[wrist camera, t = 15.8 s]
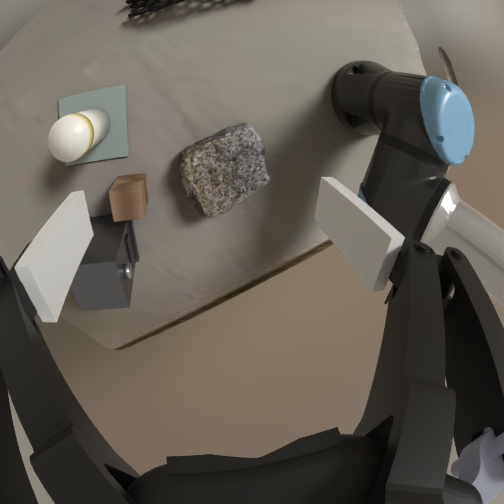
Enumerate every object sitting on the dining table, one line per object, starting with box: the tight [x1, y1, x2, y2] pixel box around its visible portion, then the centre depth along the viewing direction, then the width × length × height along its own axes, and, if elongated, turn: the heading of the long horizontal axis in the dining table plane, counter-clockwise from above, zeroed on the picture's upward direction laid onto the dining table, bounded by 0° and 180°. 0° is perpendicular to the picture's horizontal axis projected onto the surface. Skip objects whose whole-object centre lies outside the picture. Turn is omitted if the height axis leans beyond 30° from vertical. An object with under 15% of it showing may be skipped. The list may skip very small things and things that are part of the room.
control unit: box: [70, 214, 139, 310], centre depth 41 cm, size 10×10×14 cm
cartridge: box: [48, 107, 110, 162], centre depth 29 cm, size 6×6×11 cm
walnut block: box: [109, 173, 148, 222], centre depth 40 cm, size 5×5×7 cm
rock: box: [179, 123, 270, 218], centre depth 42 cm, size 13×6×15 cm
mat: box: [58, 85, 129, 167], centre depth 34 cm, size 12×12×1 cm
